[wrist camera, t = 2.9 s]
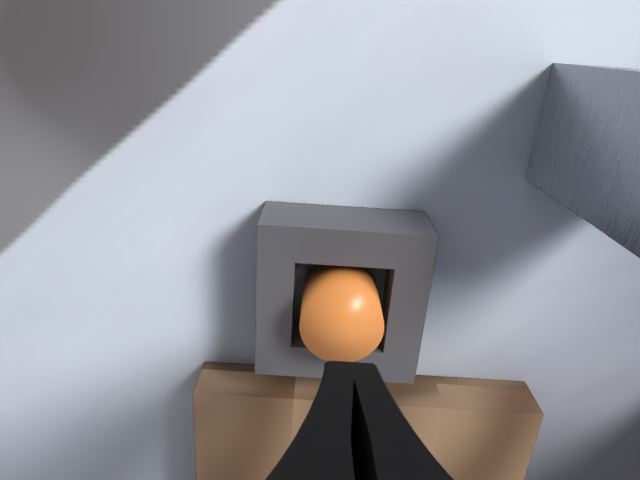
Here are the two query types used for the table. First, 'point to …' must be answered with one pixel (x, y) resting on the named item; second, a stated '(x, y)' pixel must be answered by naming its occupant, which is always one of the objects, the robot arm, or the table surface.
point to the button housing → (341, 250)
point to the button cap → (341, 313)
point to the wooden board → (413, 400)
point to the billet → (592, 147)
